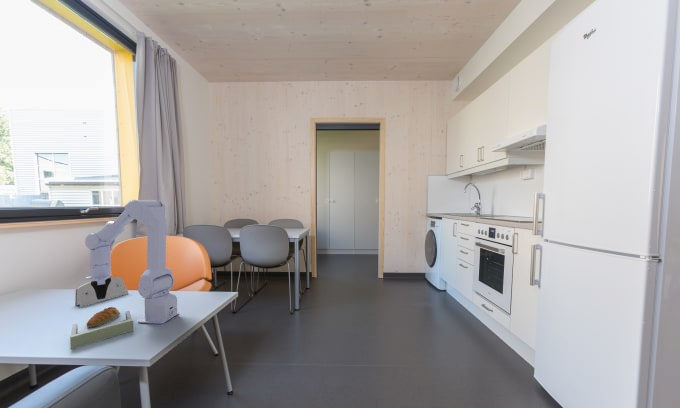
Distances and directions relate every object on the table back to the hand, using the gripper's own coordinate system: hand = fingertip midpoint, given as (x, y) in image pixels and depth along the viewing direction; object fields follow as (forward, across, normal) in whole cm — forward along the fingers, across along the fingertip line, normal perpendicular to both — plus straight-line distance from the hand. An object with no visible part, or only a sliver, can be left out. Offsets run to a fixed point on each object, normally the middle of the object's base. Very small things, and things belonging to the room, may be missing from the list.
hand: (101, 298), depth 95 cm
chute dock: (+5, +21, 0) cm, 21 cm away
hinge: (+6, -19, 0) cm, 20 cm away
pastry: (+6, +10, 0) cm, 11 cm away
